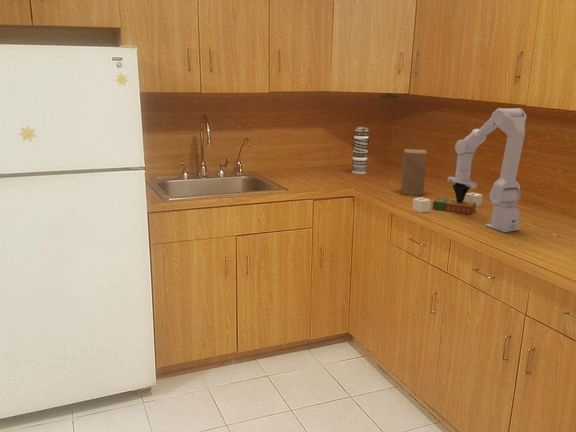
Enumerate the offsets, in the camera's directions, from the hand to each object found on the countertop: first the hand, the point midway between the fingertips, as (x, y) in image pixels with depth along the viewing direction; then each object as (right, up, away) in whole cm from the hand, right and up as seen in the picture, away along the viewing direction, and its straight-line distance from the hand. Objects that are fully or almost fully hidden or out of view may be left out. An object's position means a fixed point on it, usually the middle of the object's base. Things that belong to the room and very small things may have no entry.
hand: (459, 201), depth 223 cm
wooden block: (-12, +5, +33) cm, 35 cm away
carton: (-1, -4, +4) cm, 6 cm away
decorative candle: (-31, +19, +80) cm, 88 cm away
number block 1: (-16, -4, +1) cm, 16 cm away
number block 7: (+10, -1, +12) cm, 16 cm away
